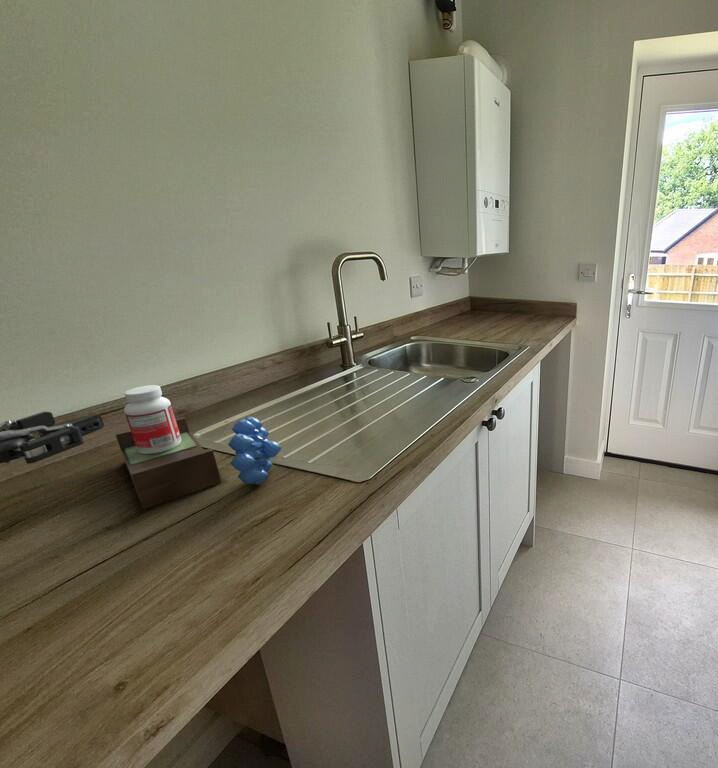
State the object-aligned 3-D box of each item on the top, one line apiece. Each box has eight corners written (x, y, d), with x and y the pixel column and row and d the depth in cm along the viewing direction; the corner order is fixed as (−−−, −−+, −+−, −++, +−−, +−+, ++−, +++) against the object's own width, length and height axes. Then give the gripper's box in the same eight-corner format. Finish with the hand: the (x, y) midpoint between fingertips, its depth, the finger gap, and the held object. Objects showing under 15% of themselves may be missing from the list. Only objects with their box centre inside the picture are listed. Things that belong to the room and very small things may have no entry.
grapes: (279, 498, 64) (264, 428, 60) (230, 505, 62) (211, 434, 58) (295, 462, 74) (283, 401, 70) (253, 468, 73) (239, 405, 69)
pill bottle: (158, 439, 76) (140, 383, 73) (190, 439, 76) (174, 383, 73) (128, 455, 71) (107, 395, 67) (163, 455, 70) (144, 395, 67)
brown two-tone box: (143, 509, 61) (131, 474, 59) (125, 462, 75) (114, 432, 73) (221, 482, 68) (213, 450, 66) (192, 444, 82) (184, 416, 80)
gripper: (-50, 450, 44) (109, 397, 59) (-156, 442, 45) (25, 393, 61) (-21, 509, 46) (125, 444, 61) (-122, 500, 48) (44, 438, 63)
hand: (75, 418), depth 61 cm, fingers open, 8 cm apart
